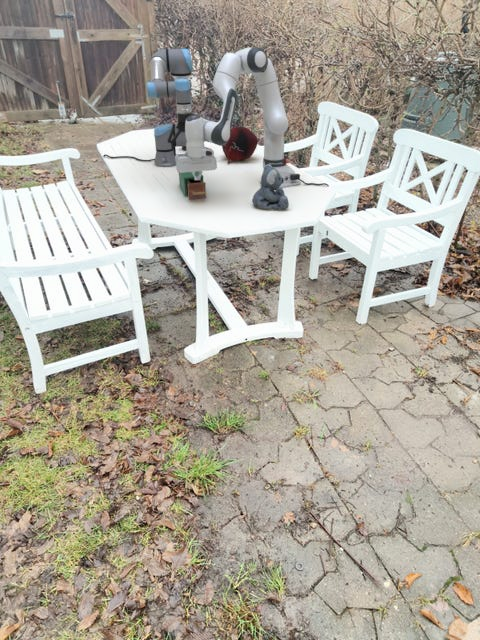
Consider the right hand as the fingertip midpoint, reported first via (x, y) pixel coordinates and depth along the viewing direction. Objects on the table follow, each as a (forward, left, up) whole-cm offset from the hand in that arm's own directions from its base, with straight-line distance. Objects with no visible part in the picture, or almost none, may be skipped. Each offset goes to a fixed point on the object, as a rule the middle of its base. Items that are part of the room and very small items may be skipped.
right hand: (197, 179), depth 227 cm
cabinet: (+1, -21, -12) cm, 24 cm away
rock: (-9, -110, -12) cm, 111 cm away
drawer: (0, -9, -11) cm, 14 cm away
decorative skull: (-40, -76, -12) cm, 86 cm away
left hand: (+1, -27, +6) cm, 27 cm away
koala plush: (-35, +14, -12) cm, 39 cm away
